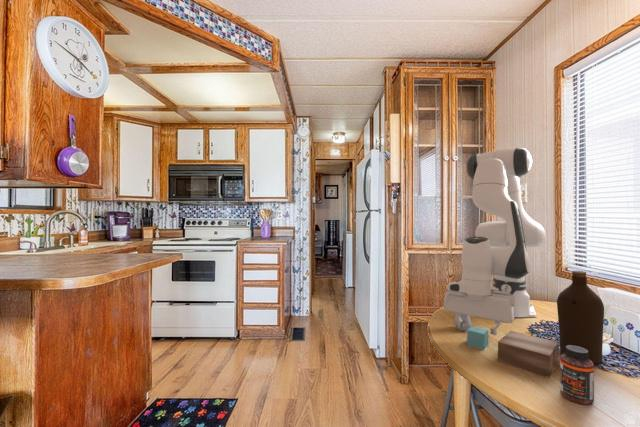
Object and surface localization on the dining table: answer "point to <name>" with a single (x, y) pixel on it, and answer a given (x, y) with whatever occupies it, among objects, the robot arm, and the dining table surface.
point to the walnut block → (529, 353)
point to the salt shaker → (467, 322)
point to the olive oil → (581, 317)
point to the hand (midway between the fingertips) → (477, 330)
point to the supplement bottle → (577, 375)
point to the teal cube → (477, 337)
